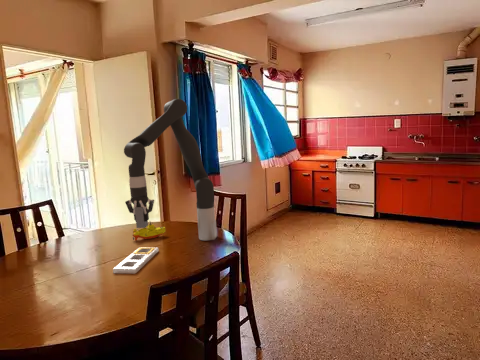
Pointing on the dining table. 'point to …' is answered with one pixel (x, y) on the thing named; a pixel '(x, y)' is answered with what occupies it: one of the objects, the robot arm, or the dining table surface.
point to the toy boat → (148, 232)
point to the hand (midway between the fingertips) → (141, 221)
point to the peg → (140, 217)
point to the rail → (140, 253)
